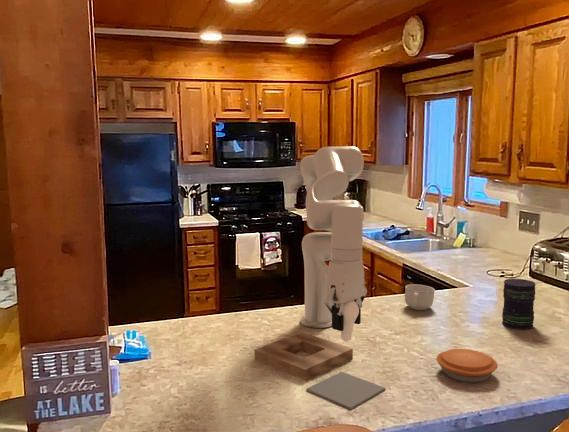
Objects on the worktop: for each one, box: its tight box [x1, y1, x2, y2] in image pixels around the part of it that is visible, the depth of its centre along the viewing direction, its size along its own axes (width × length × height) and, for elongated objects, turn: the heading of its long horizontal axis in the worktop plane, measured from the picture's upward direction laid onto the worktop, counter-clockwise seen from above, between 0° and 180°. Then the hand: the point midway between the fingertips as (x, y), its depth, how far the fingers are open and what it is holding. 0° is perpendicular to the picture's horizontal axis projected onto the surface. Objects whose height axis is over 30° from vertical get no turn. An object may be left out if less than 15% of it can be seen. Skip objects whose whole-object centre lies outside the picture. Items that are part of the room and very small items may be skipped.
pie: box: [436, 348, 499, 384], centre depth 140 cm, size 15×16×5 cm
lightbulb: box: [336, 300, 359, 343], centre depth 129 cm, size 6×6×11 cm
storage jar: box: [501, 278, 536, 331], centre depth 177 cm, size 10×10×15 cm
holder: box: [253, 331, 354, 381], centre depth 151 cm, size 20×20×3 cm
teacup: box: [404, 283, 436, 311], centre depth 196 cm, size 14×11×8 cm
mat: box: [306, 371, 386, 410], centre depth 131 cm, size 14×14×1 cm
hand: (346, 325), depth 129 cm, fingers closed on lightbulb, 6 cm apart
